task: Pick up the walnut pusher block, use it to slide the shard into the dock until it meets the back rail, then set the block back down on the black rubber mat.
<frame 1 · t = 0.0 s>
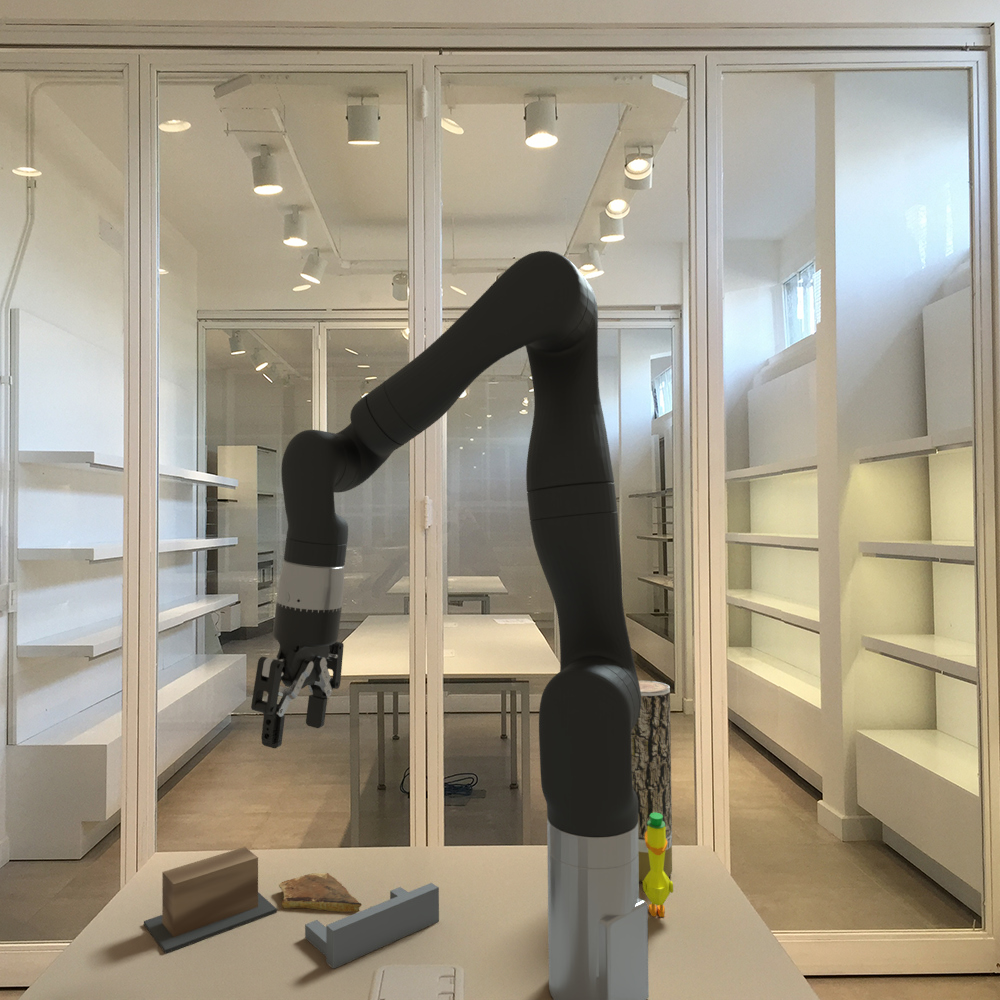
hand: (293, 735, 89), 22 cm above the table, tool pointing down, fingers open, 8 cm apart
dock: (352, 915, 91), on the table
pusher block: (211, 889, 90), on the rest mat
bark log stump: (646, 874, 101), on the table
rest mat: (211, 918, 90), on the table
shard: (325, 899, 96), on the table
toy figure: (657, 913, 91), on the table
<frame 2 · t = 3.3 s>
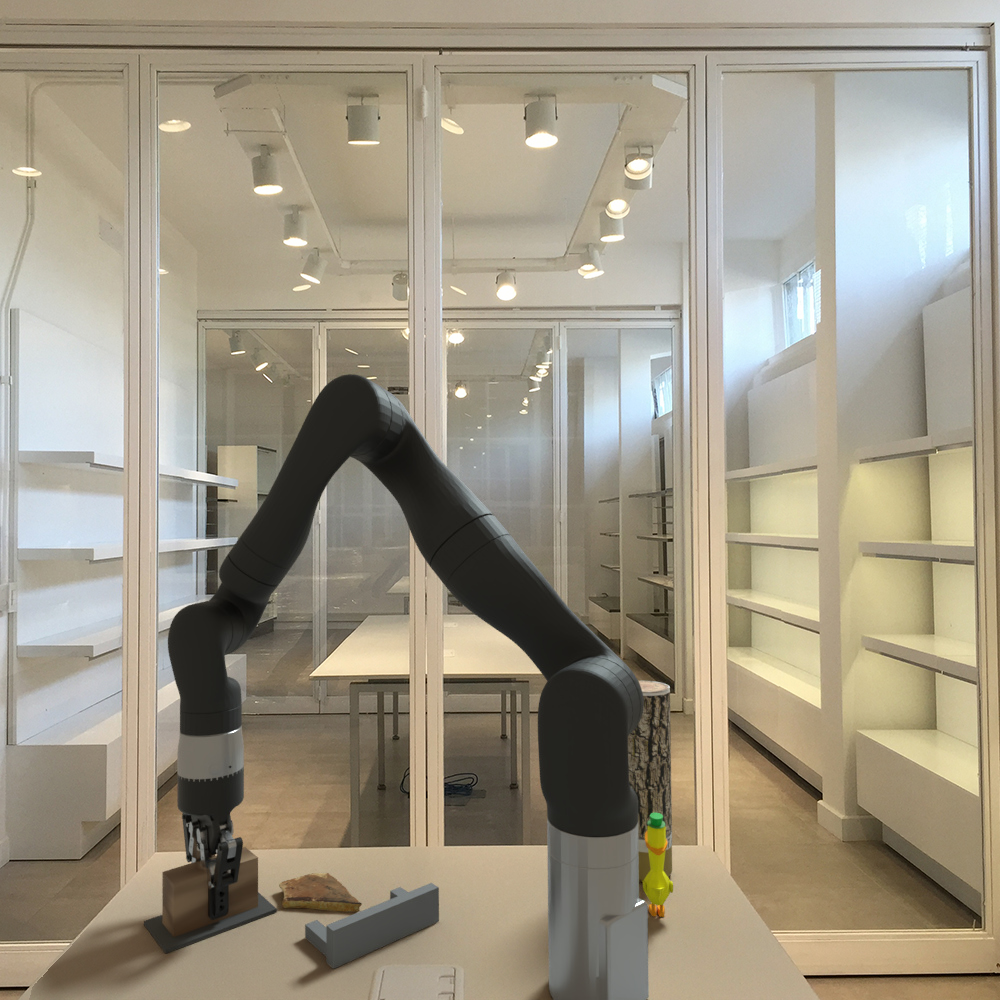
hand: (211, 908, 90), 1 cm above the table, tool pointing down, fingers closed on pusher block, 4 cm apart
pusher block: (211, 889, 90), on the rest mat, touching gripper
everything else where it was.
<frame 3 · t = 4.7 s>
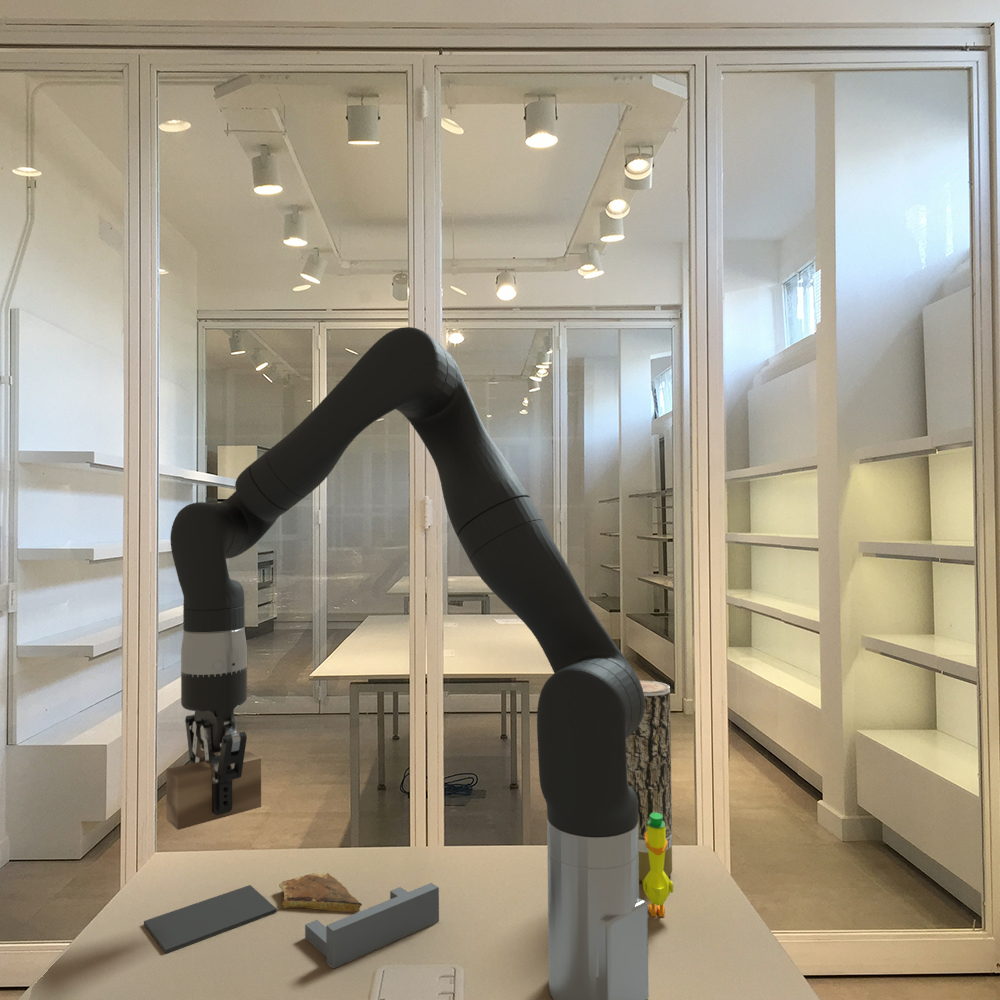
hand: (214, 806, 91), 13 cm above the table, tool pointing down, fingers closed on pusher block, 4 cm apart
pusher block: (214, 788, 91), point 15 cm above the table, touching gripper
everything else where it was.
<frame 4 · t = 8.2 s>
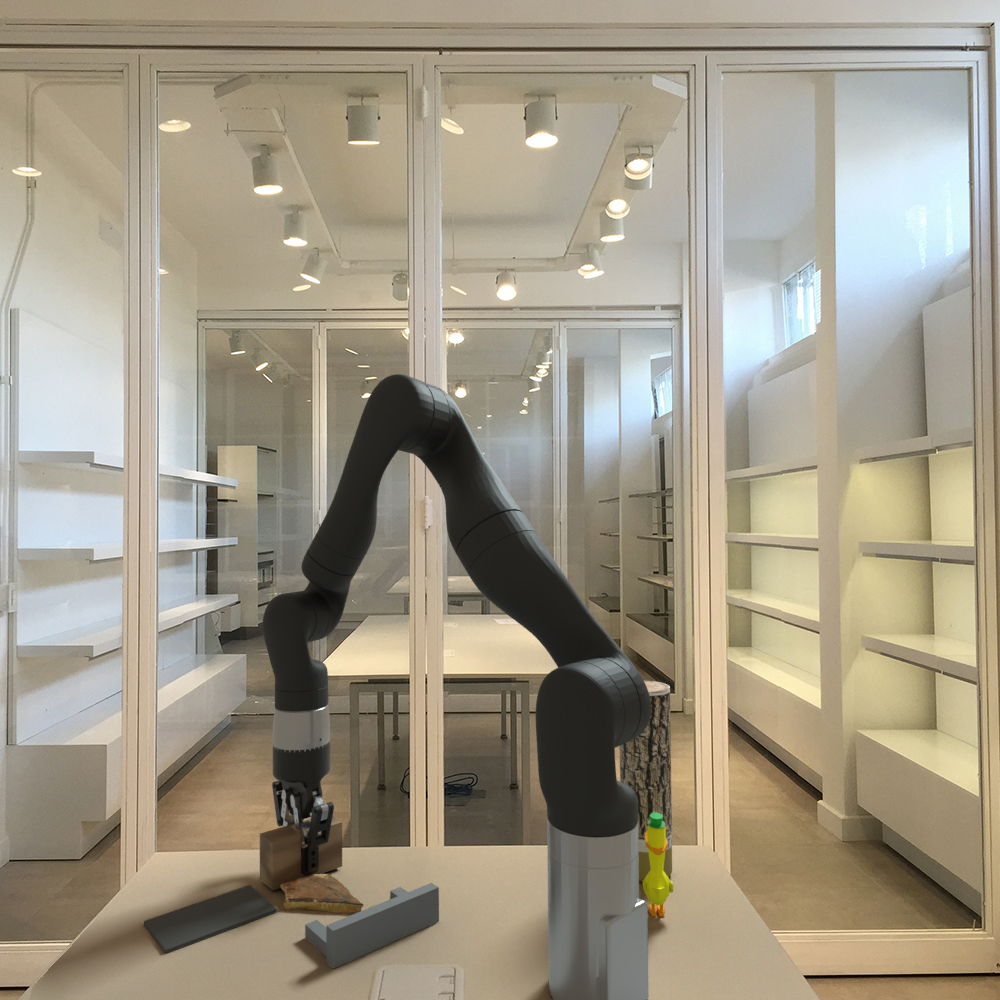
hand: (301, 866, 101), 1 cm above the table, tool pointing down, fingers closed on pusher block, 4 cm apart
pusher block: (301, 850, 101), on the table, touching gripper
everything else where it was.
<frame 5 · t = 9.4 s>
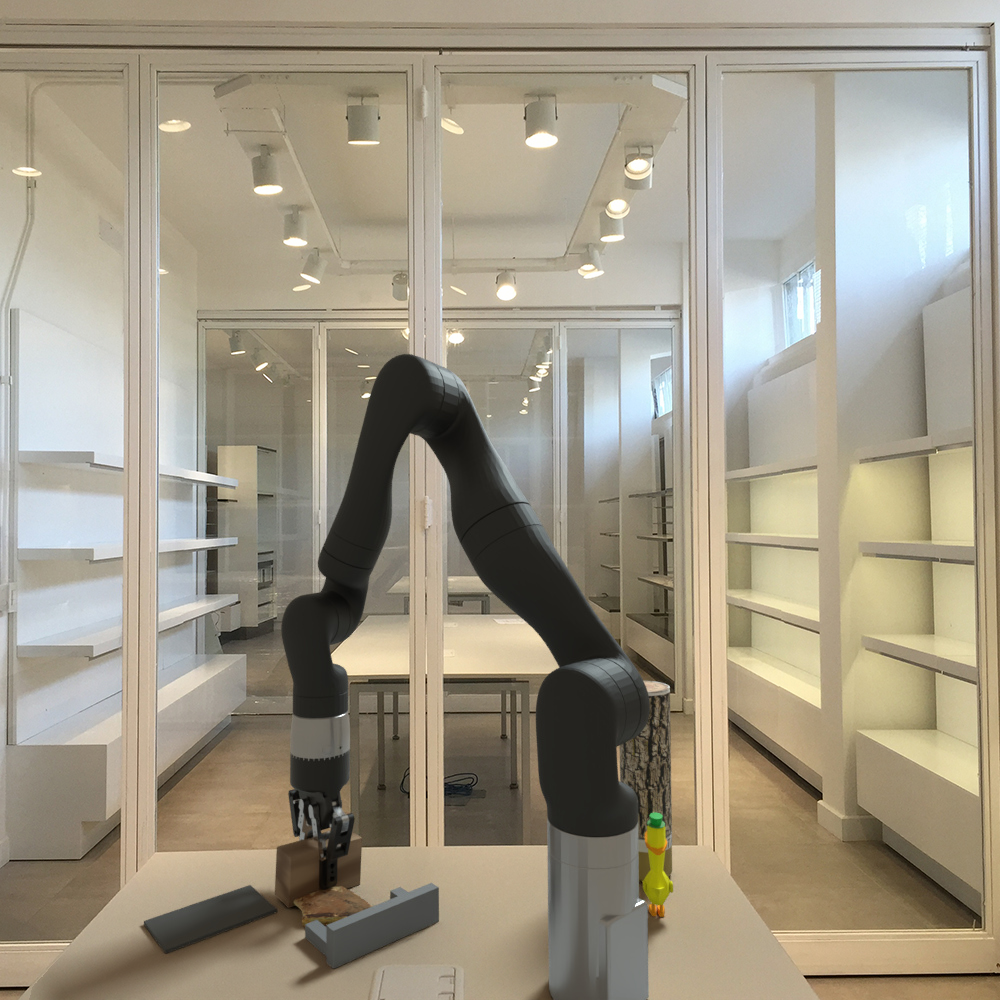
hand: (319, 879, 97), 1 cm above the table, tool pointing down, fingers closed on pusher block, 4 cm apart
pusher block: (319, 865, 97), on the table, touching gripper
shard: (343, 914, 92), on the table, touching gripper
everything else where it was.
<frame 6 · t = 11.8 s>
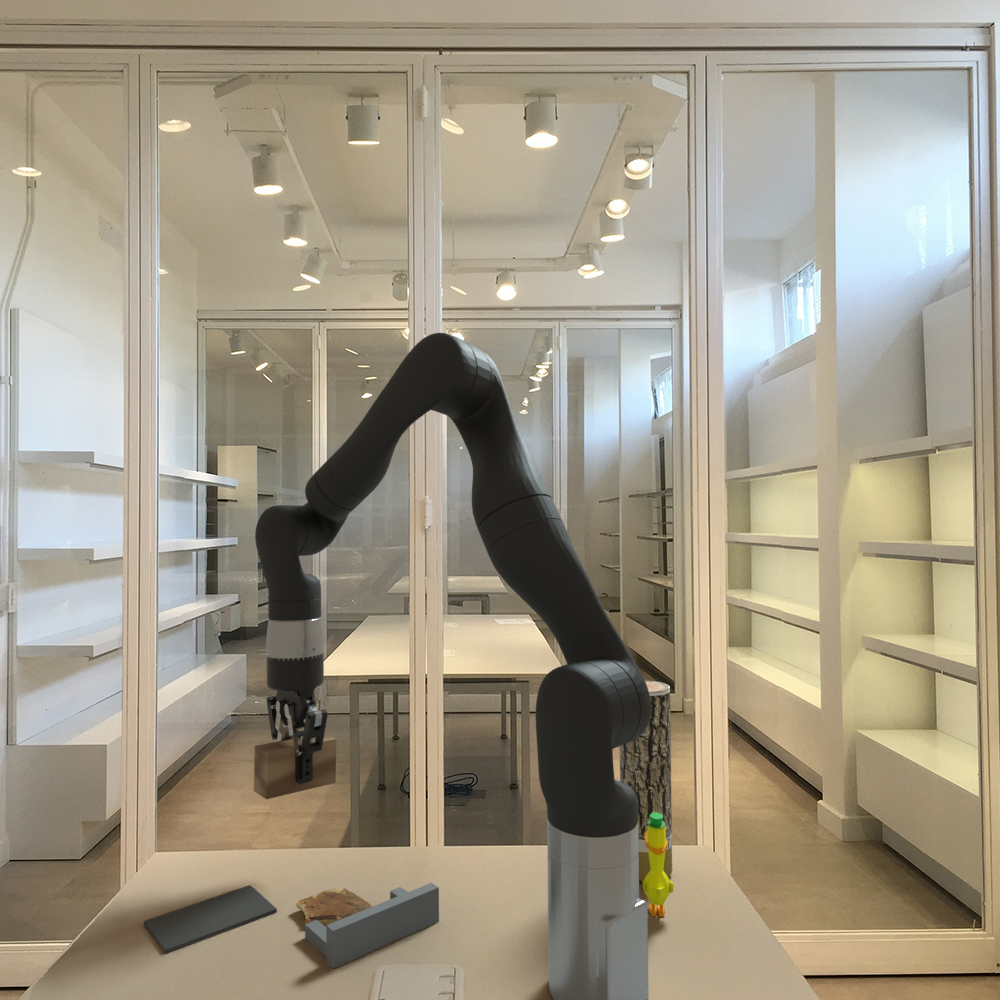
hand: (296, 777, 102), 13 cm above the table, tool pointing down, fingers closed on pusher block, 4 cm apart
pusher block: (295, 764, 102), point 15 cm above the table, touching gripper
shard: (346, 916, 92), on the table
everything else where it was.
when the fingers open (2 cm above the table, at t = 15.1 s): pusher block stays where it is, resting on rest mat.
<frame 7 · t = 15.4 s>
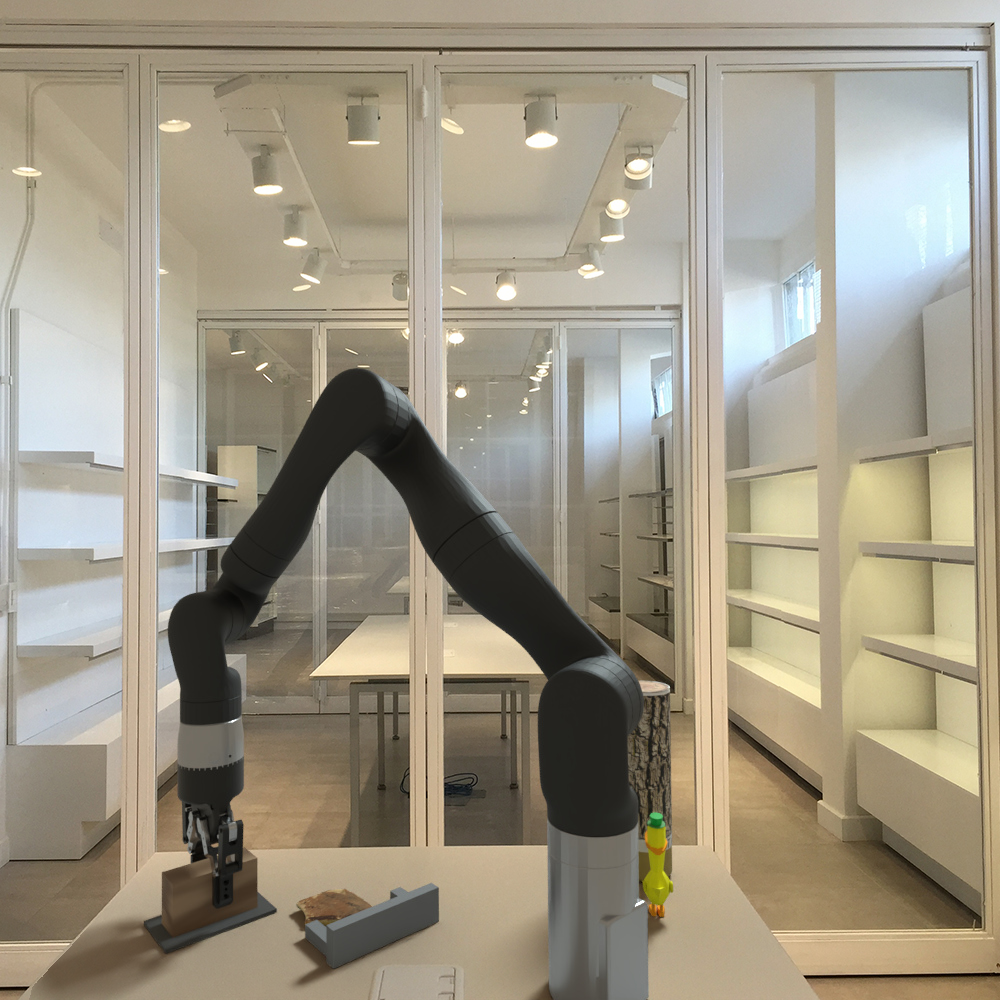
hand: (211, 893, 90), 3 cm above the table, tool pointing down, fingers open, 6 cm apart
pusher block: (210, 890, 90), on the rest mat
everything else where it was.
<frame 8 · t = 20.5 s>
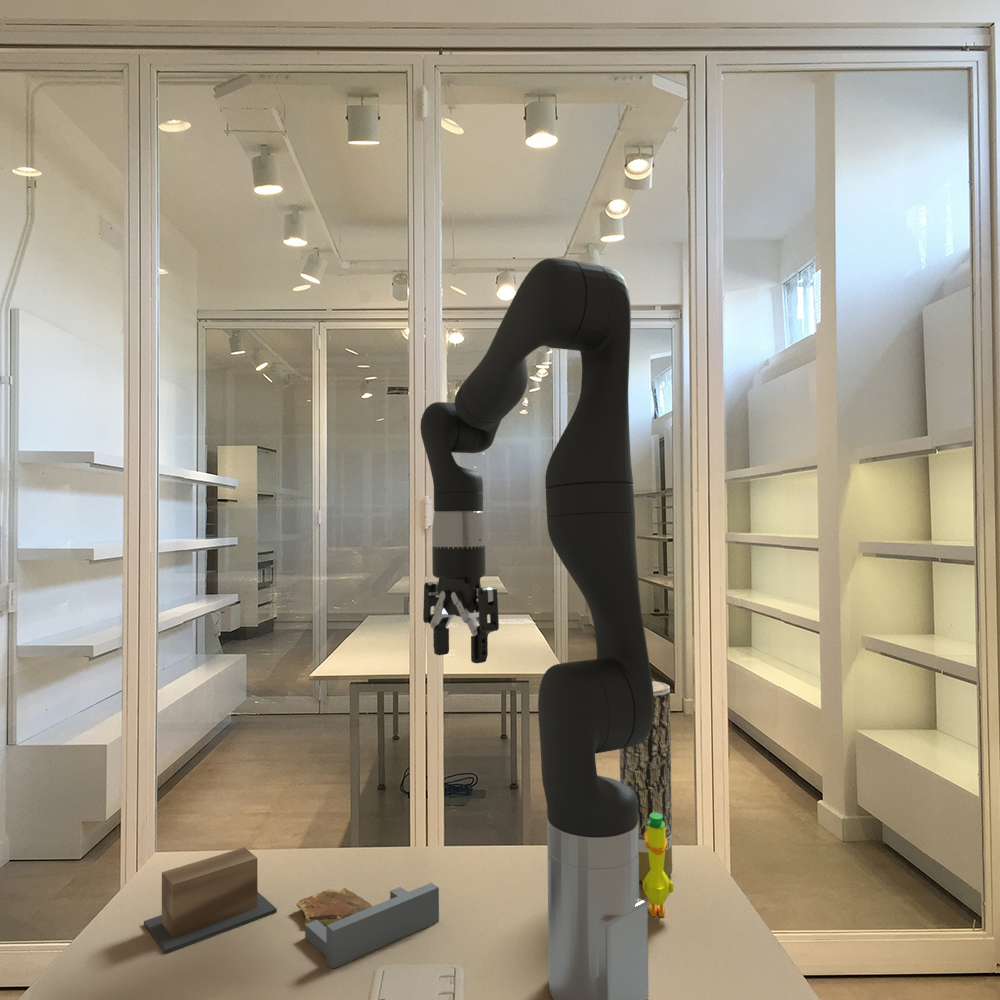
hand: (459, 658, 106), 28 cm above the table, tool pointing down, fingers open, 8 cm apart
nothing on the table moved.
at the end: shard 1.9 cm off-centre on the dock, point -0.8 cm above the dock's base; pusher block 0.1 cm off-centre on the rest mat, point 3.4 cm above the rest mat's base; pusher block tilted 0° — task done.
